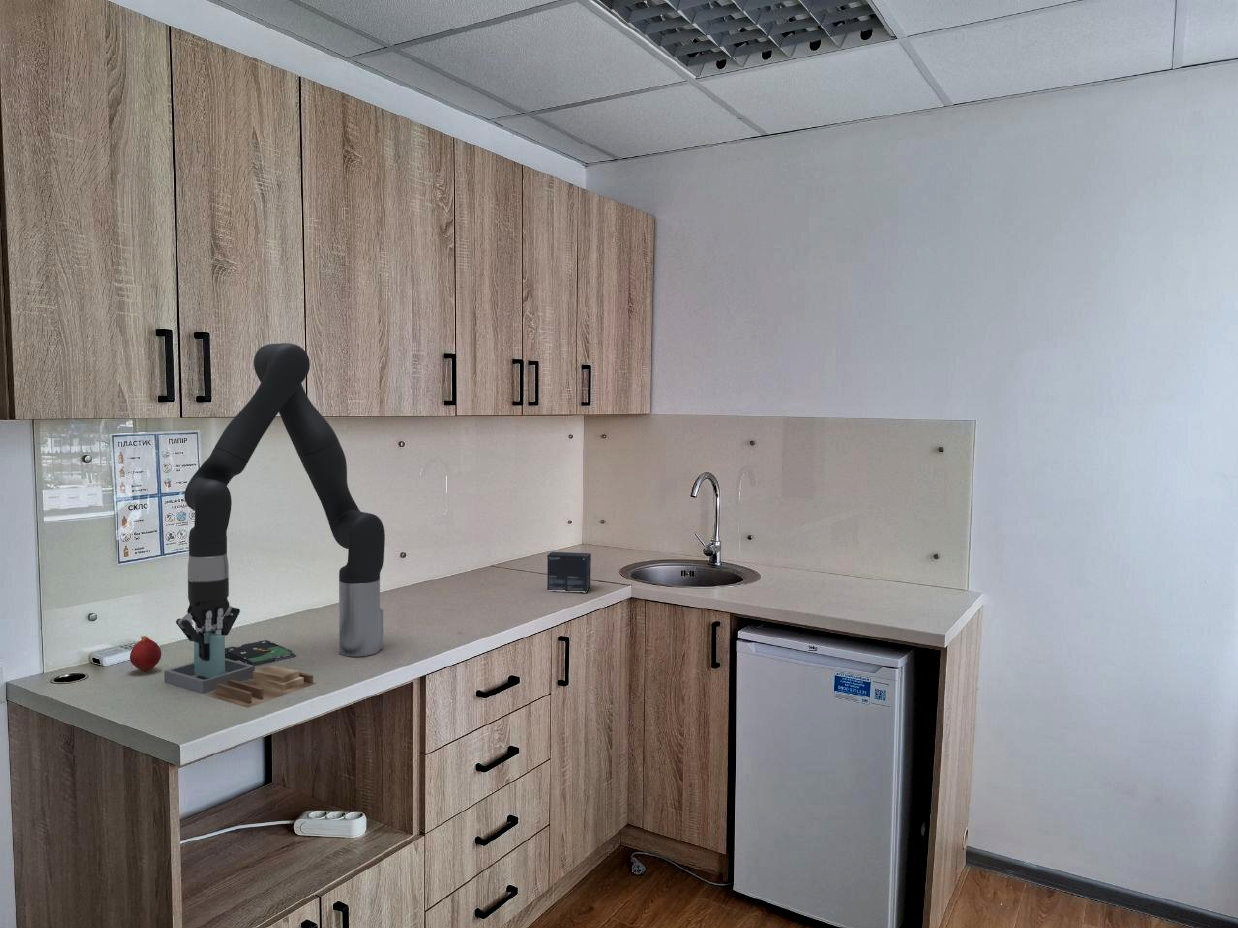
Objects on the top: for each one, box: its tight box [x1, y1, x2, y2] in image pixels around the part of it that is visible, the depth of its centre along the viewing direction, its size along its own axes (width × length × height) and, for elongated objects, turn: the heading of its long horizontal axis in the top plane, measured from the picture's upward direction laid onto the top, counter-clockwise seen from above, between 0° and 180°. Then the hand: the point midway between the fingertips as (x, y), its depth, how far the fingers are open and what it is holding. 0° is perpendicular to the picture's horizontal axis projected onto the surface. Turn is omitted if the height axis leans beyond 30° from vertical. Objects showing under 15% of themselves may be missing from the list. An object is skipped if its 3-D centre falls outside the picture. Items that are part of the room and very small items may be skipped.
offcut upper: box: [253, 665, 300, 683], centre depth 168 cm, size 4×8×1 cm, turn 67°
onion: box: [129, 635, 162, 673], centre depth 177 cm, size 6×6×8 cm
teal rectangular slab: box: [193, 631, 226, 679], centre depth 169 cm, size 1×8×9 cm, turn 61°
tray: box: [163, 658, 256, 695], centre depth 170 cm, size 12×13×4 cm
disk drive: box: [225, 639, 297, 667], centre depth 187 cm, size 10×3×15 cm
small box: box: [546, 551, 592, 592], centre depth 263 cm, size 13×7×12 cm, turn 81°
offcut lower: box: [253, 677, 304, 691], centre depth 168 cm, size 5×9×1 cm, turn 61°
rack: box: [204, 665, 317, 709], centre depth 165 cm, size 16×13×3 cm
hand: (209, 658), depth 169 cm, fingers closed on teal rectangular slab, 1 cm apart
